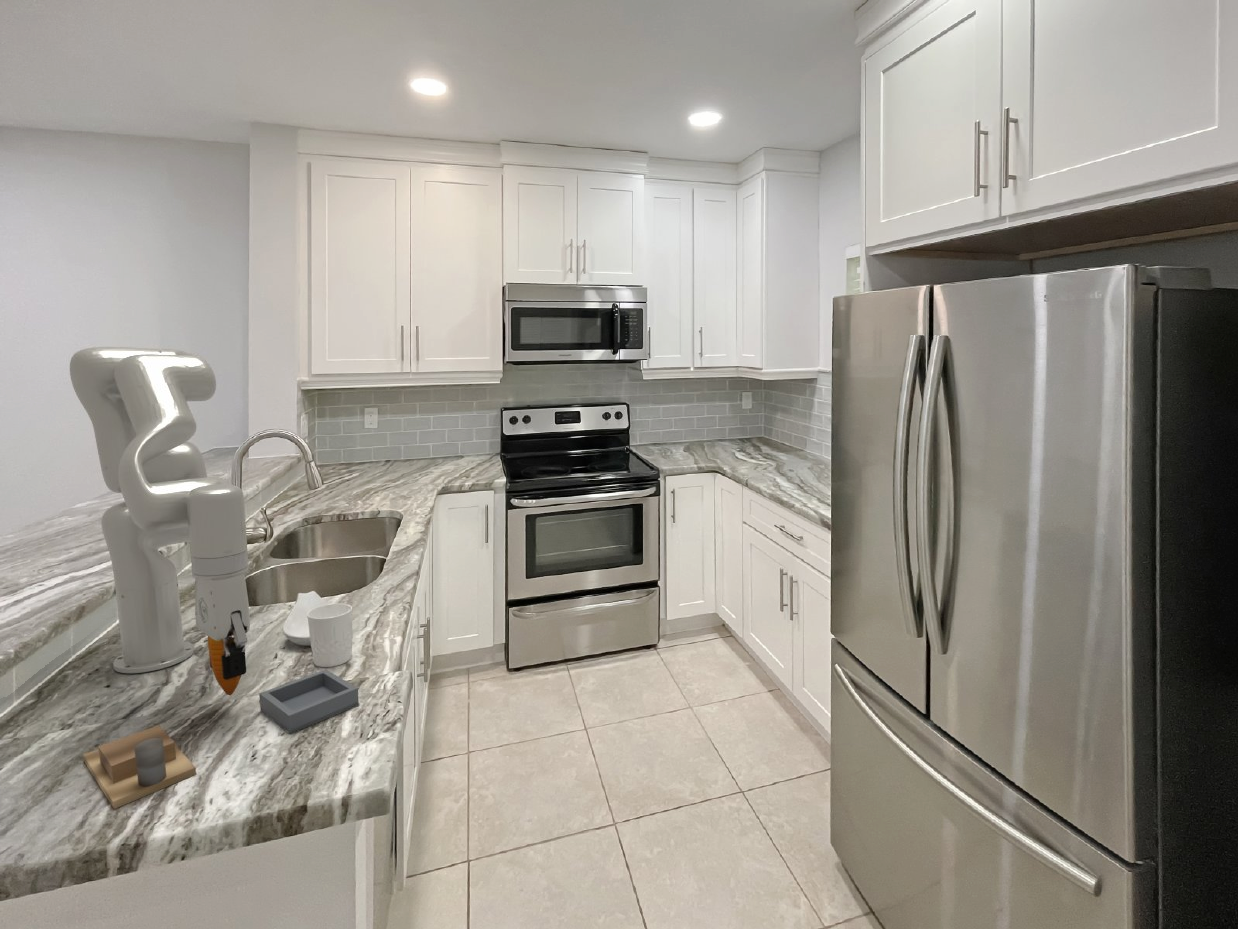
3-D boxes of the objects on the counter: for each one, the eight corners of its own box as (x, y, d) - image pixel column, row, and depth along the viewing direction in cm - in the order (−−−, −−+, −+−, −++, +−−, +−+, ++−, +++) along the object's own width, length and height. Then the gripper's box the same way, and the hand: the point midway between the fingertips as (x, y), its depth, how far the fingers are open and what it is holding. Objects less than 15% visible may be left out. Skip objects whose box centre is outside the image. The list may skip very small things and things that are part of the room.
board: (83, 761, 88) (78, 721, 87) (159, 733, 95) (155, 696, 94) (113, 809, 78) (108, 765, 77) (196, 774, 85) (192, 733, 84)
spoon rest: (351, 644, 128) (349, 611, 127) (287, 658, 121) (284, 623, 120) (331, 610, 147) (329, 581, 146) (275, 620, 140) (272, 590, 139)
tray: (260, 710, 101) (259, 693, 101) (327, 685, 110) (325, 669, 109) (290, 734, 94) (289, 715, 94) (358, 705, 103) (357, 688, 102)
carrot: (254, 690, 102) (249, 604, 100) (227, 705, 98) (220, 615, 95) (232, 685, 104) (226, 600, 102) (204, 699, 99) (197, 611, 97)
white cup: (340, 670, 115) (337, 619, 114) (301, 668, 116) (297, 617, 115) (362, 652, 123) (360, 604, 122) (326, 650, 124) (322, 602, 123)
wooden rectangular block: (100, 763, 86) (98, 746, 85) (160, 740, 91) (159, 725, 91) (113, 783, 81) (111, 766, 81) (176, 758, 87) (174, 742, 86)
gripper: (174, 557, 100) (183, 662, 102) (213, 581, 89) (222, 698, 92) (226, 547, 105) (233, 647, 108) (268, 569, 95) (275, 679, 98)
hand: (228, 669), depth 100 cm, fingers closed on carrot, 4 cm apart
